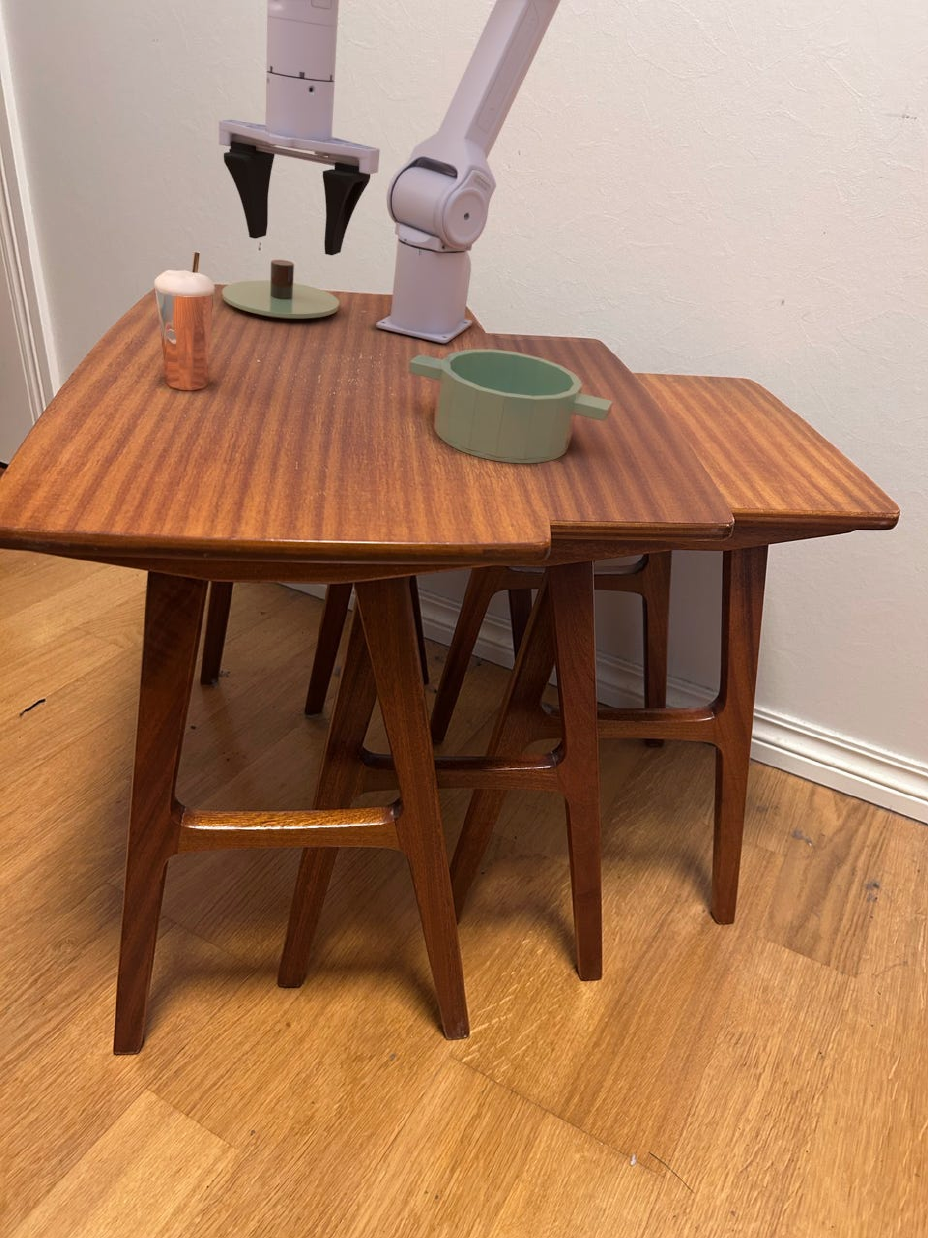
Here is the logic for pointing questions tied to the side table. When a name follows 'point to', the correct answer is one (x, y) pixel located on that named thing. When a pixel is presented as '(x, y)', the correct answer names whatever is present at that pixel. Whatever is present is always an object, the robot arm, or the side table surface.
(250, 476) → the side table surface
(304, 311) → the pot lid
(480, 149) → the robot arm
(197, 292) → the milkshake
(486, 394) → the green cooking pot
